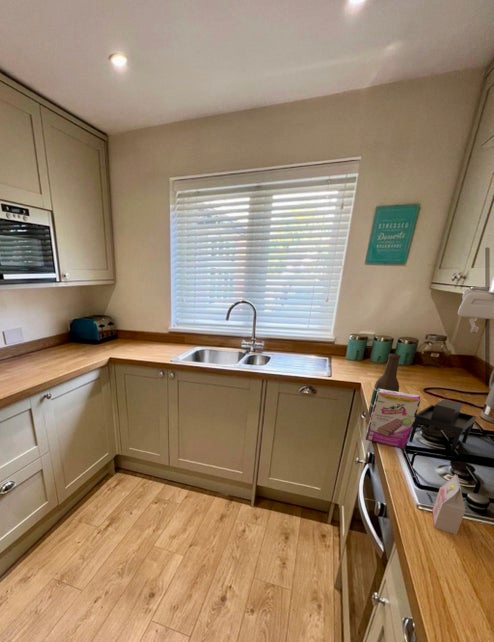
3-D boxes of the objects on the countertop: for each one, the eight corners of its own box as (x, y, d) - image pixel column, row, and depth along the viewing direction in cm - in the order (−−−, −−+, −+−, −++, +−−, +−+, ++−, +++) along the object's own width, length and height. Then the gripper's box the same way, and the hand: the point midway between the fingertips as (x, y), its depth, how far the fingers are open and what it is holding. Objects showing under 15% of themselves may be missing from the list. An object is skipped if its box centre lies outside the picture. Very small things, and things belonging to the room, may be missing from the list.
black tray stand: (466, 442, 105) (476, 416, 102) (453, 456, 96) (463, 428, 93) (423, 429, 114) (431, 404, 111) (407, 441, 105) (414, 414, 102)
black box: (457, 418, 103) (462, 403, 101) (450, 424, 98) (455, 409, 97) (438, 413, 107) (443, 399, 105) (430, 419, 102) (435, 404, 100)
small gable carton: (452, 515, 72) (467, 476, 68) (456, 534, 67) (472, 493, 63) (432, 509, 74) (445, 471, 70) (433, 527, 68) (448, 486, 65)
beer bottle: (393, 417, 124) (410, 354, 115) (388, 423, 118) (405, 357, 110) (370, 411, 128) (385, 350, 120) (364, 417, 123) (379, 354, 115)
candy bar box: (365, 440, 105) (376, 392, 99) (365, 434, 109) (377, 387, 103) (406, 450, 100) (421, 399, 94) (405, 443, 104) (420, 394, 98)
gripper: (462, 286, 103) (449, 330, 107) (558, 288, 88) (537, 340, 93) (468, 286, 106) (454, 329, 111) (560, 288, 91) (540, 338, 96)
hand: (492, 334), depth 102 cm, fingers open, 8 cm apart
